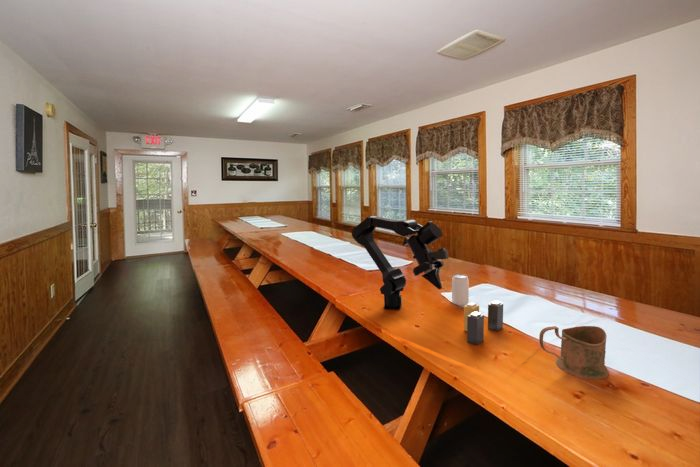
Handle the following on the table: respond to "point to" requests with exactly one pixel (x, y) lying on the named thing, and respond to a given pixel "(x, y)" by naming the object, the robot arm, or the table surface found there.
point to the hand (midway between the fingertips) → (440, 288)
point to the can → (460, 289)
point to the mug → (581, 351)
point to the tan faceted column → (469, 312)
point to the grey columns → (477, 322)
